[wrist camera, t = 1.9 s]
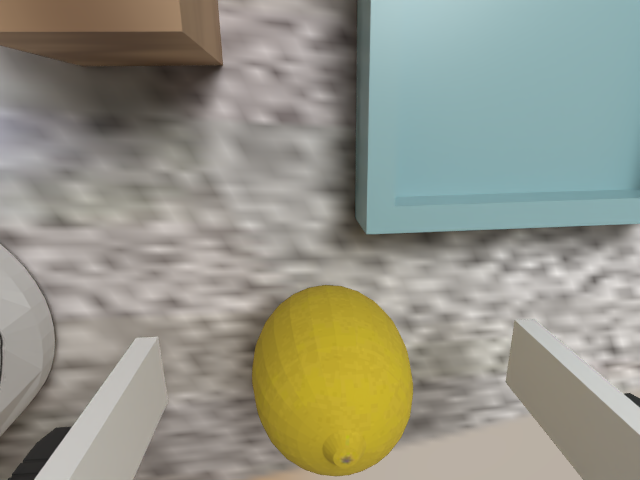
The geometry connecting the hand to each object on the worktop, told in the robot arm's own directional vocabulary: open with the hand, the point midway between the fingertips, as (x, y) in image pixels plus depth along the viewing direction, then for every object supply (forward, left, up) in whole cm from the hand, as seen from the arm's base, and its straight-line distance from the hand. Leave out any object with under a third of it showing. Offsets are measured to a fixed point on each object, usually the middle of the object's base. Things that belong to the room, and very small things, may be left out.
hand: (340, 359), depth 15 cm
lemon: (0, 0, -4) cm, 4 cm away
